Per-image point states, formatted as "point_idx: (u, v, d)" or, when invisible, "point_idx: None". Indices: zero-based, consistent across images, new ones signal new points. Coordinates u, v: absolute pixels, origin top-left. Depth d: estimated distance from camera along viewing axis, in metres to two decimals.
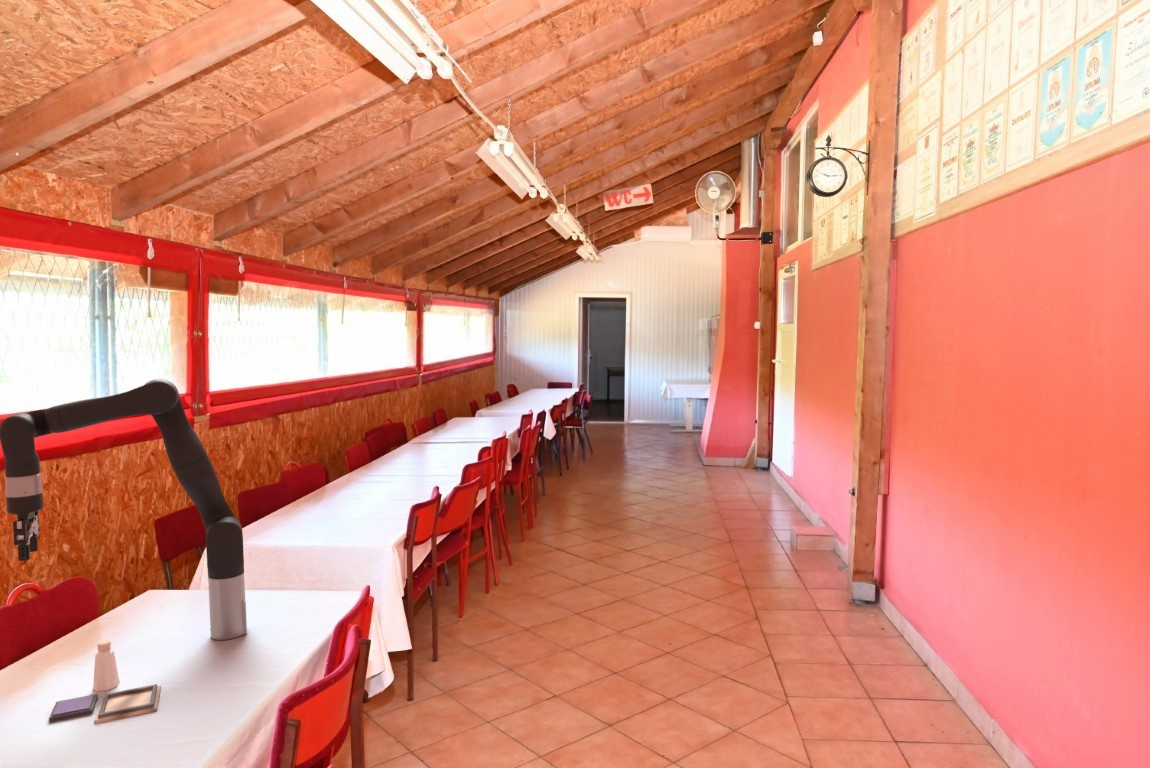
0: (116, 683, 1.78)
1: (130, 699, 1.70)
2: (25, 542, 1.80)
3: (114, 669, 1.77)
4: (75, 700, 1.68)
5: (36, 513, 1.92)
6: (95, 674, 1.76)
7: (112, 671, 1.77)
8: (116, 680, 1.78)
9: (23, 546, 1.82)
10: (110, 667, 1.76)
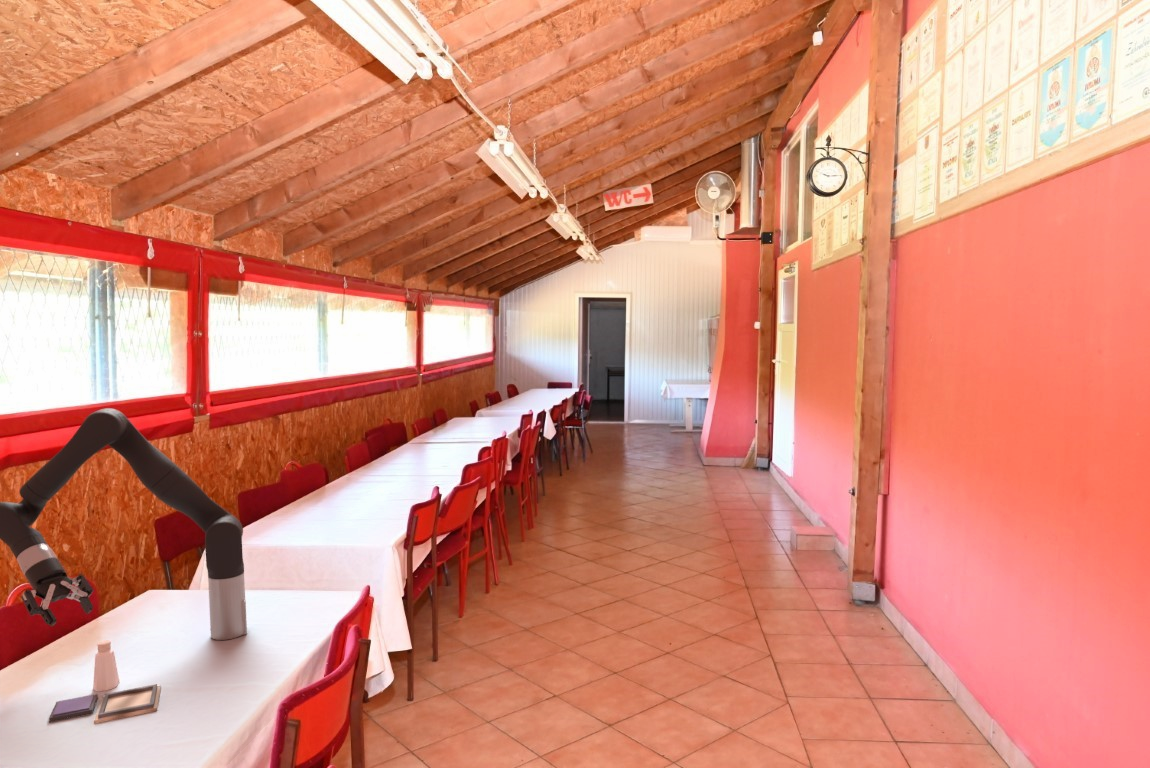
0: (116, 683, 1.78)
1: (130, 699, 1.70)
2: (33, 608, 1.76)
3: (114, 669, 1.77)
4: (75, 700, 1.68)
5: (78, 577, 1.89)
6: (95, 674, 1.76)
7: (112, 671, 1.77)
8: (116, 680, 1.78)
9: (41, 612, 1.77)
10: (110, 667, 1.76)
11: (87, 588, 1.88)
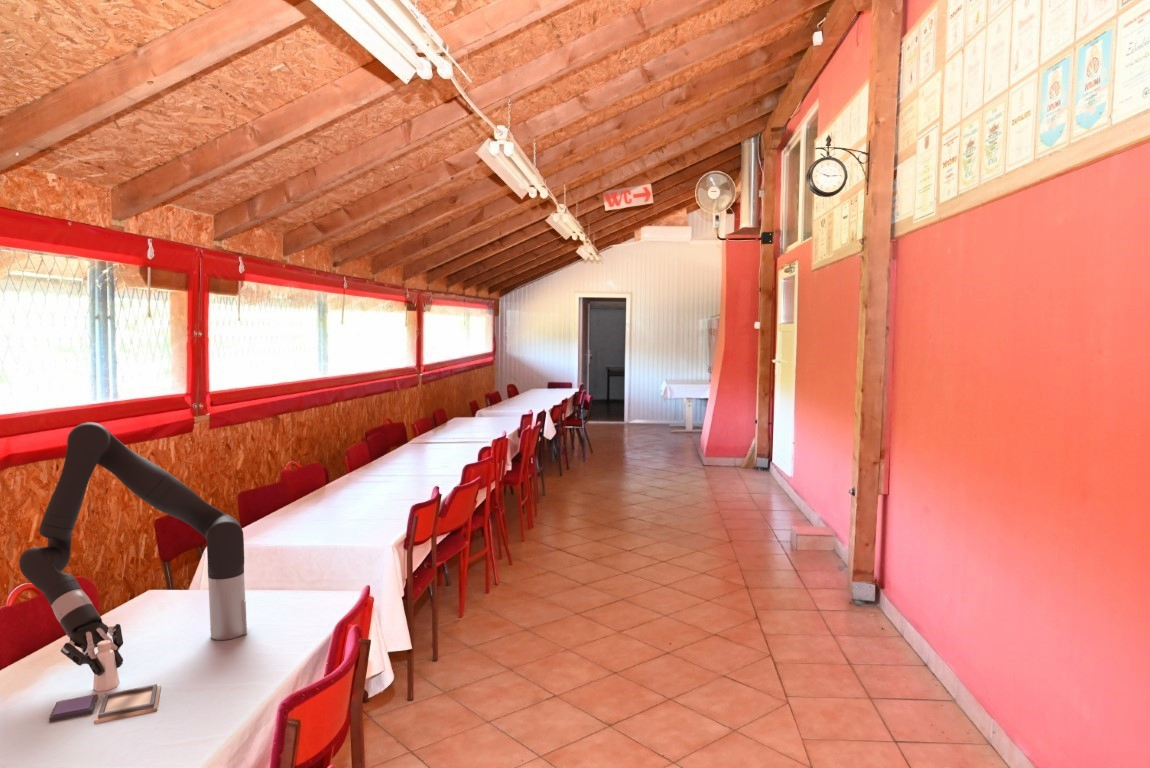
0: (116, 683, 1.78)
1: (130, 699, 1.70)
2: (81, 658, 1.73)
3: (114, 669, 1.78)
4: (75, 700, 1.68)
5: (115, 627, 1.84)
6: None
7: (112, 671, 1.77)
8: (116, 680, 1.78)
9: (89, 662, 1.74)
10: (110, 667, 1.77)
11: (118, 640, 1.82)
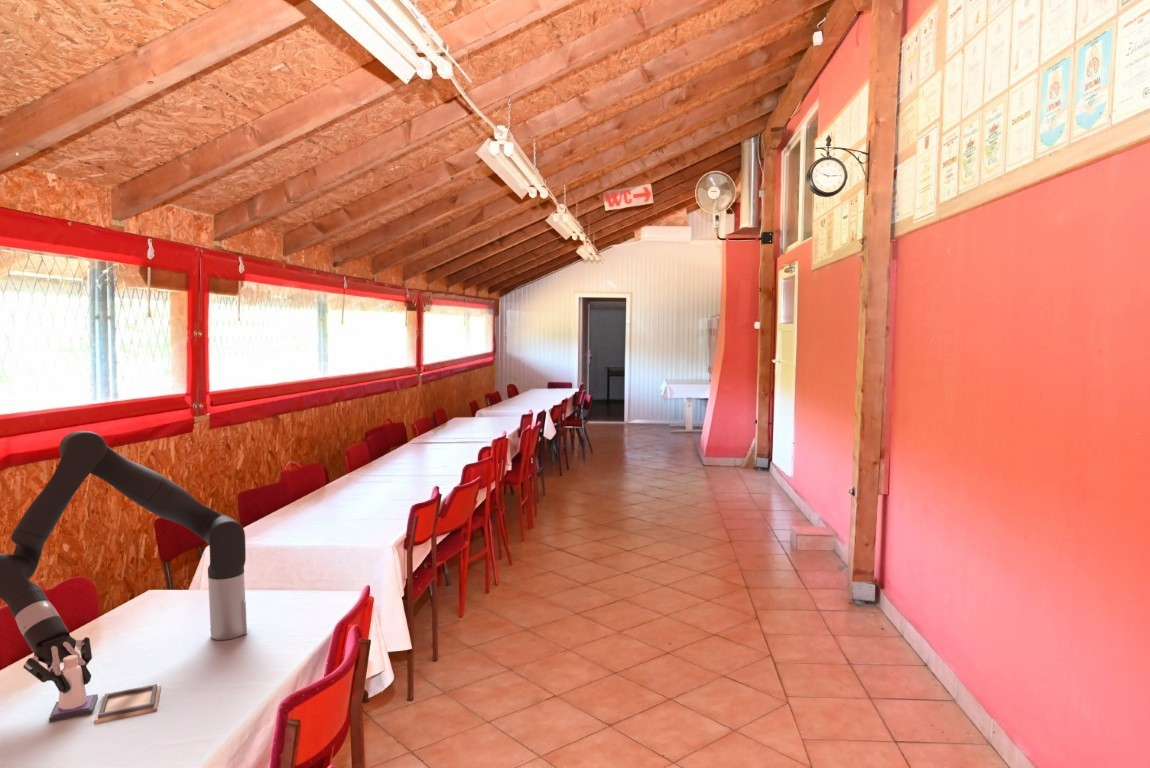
0: (83, 701, 1.66)
1: (130, 699, 1.70)
2: (45, 675, 1.62)
3: (81, 686, 1.66)
4: None
5: (83, 641, 1.72)
6: None
7: (79, 688, 1.66)
8: (83, 697, 1.67)
9: (54, 679, 1.63)
10: (77, 684, 1.65)
11: (86, 654, 1.70)
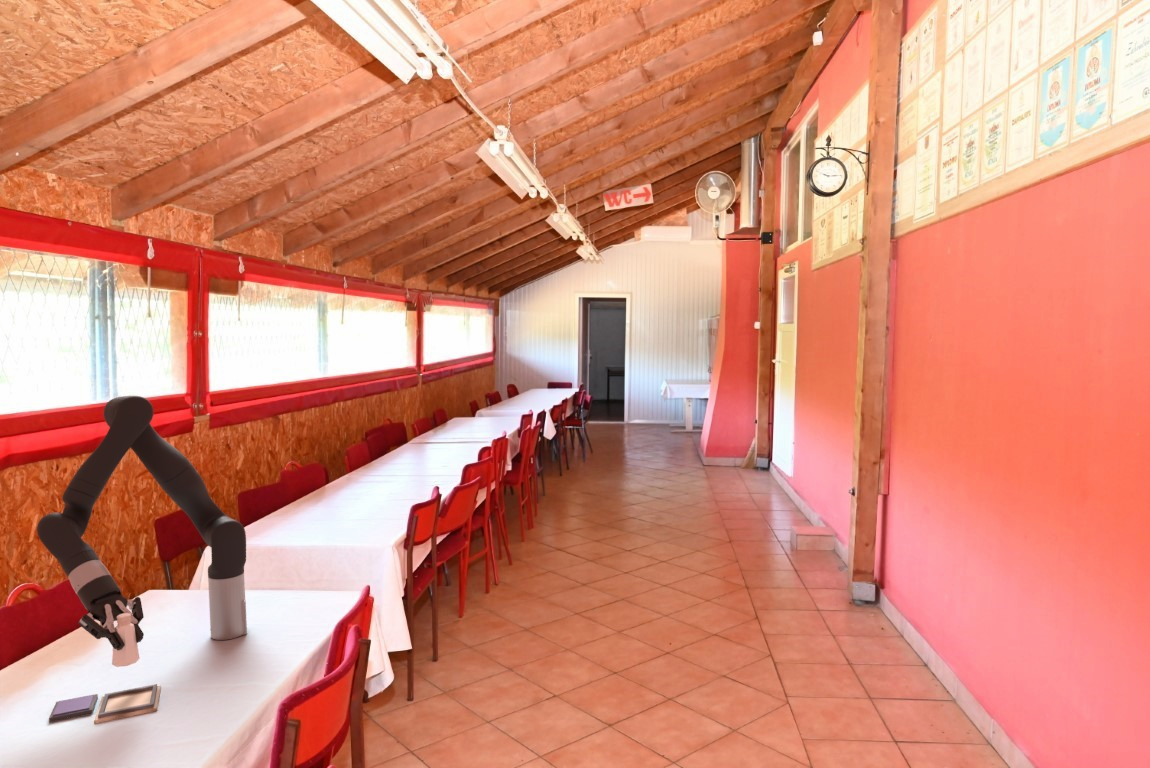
0: (136, 658, 1.68)
1: (130, 699, 1.70)
2: (100, 631, 1.63)
3: (134, 643, 1.68)
4: (75, 700, 1.68)
5: (135, 600, 1.74)
6: None
7: (132, 646, 1.67)
8: (136, 655, 1.68)
9: (108, 636, 1.65)
10: (130, 641, 1.67)
11: (138, 613, 1.72)
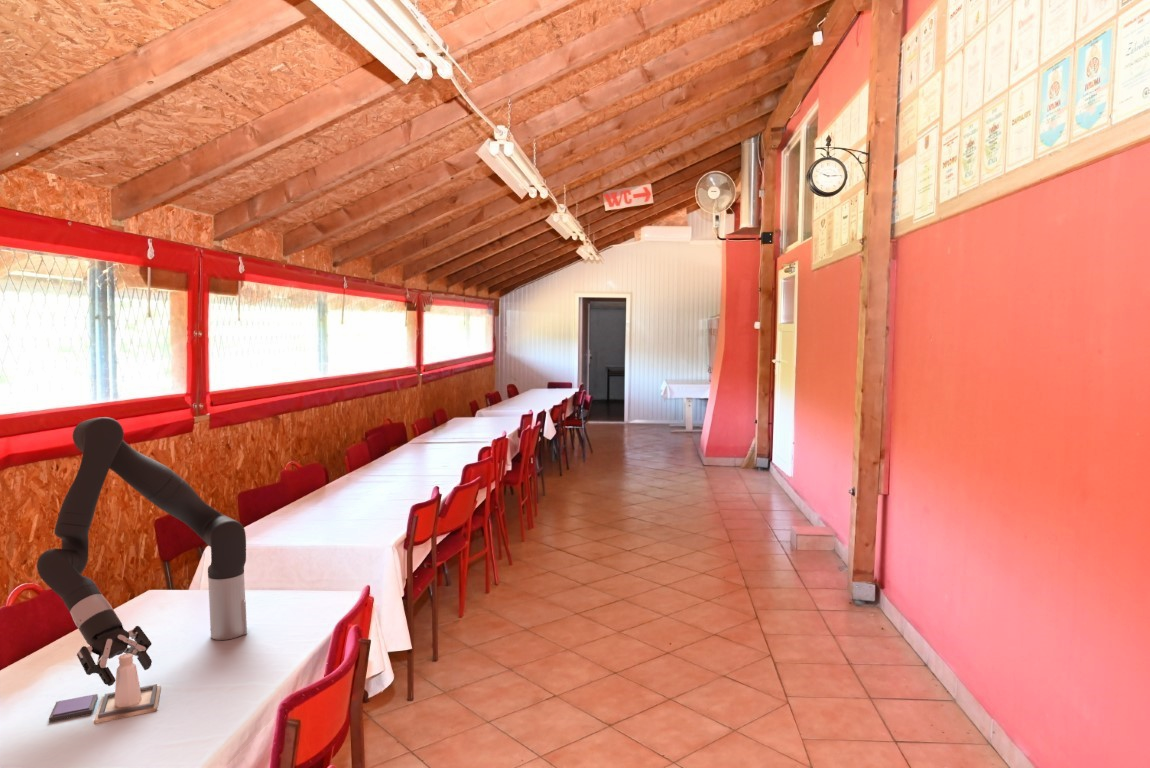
0: (138, 698, 1.69)
1: None
2: (90, 667, 1.62)
3: (136, 684, 1.68)
4: (75, 700, 1.68)
5: (135, 630, 1.75)
6: (116, 689, 1.67)
7: (135, 686, 1.68)
8: (138, 695, 1.69)
9: (99, 671, 1.64)
10: (132, 682, 1.67)
11: (145, 641, 1.74)
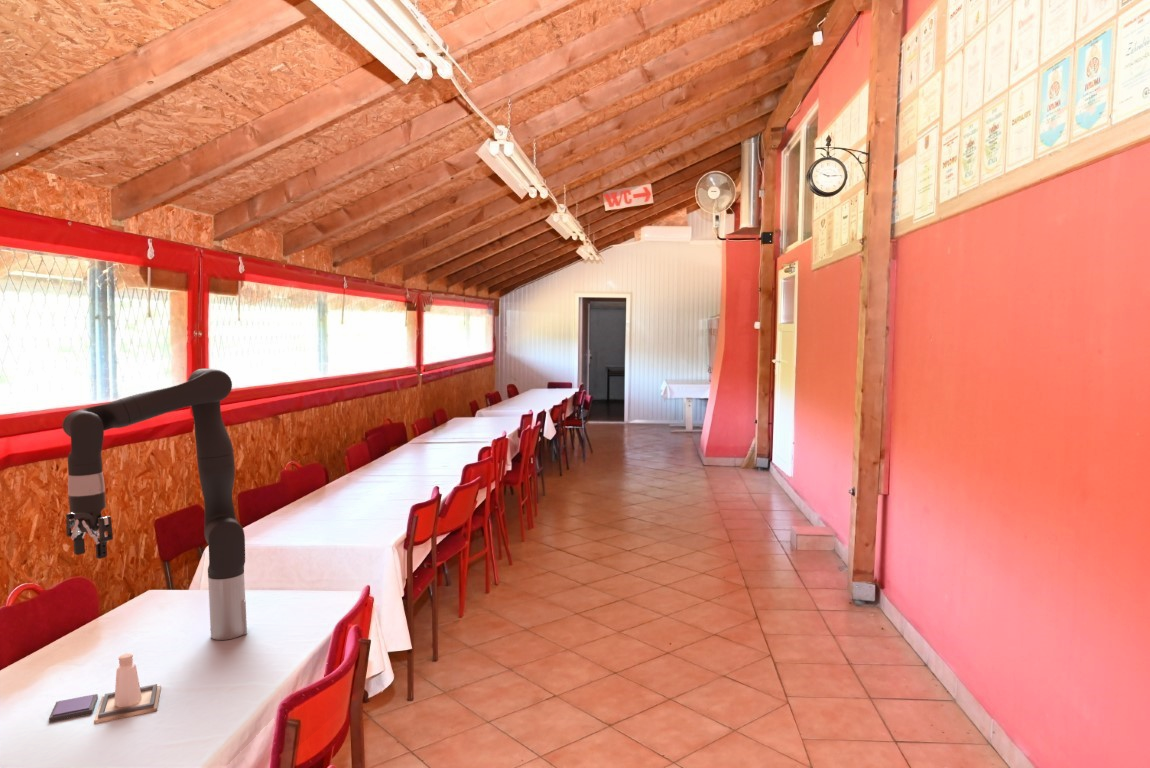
0: (138, 699, 1.69)
1: None
2: (111, 537, 1.80)
3: (136, 684, 1.68)
4: (75, 700, 1.68)
5: None
6: (116, 689, 1.67)
7: (135, 686, 1.68)
8: (138, 695, 1.69)
9: (104, 543, 1.80)
10: (132, 682, 1.67)
11: None
